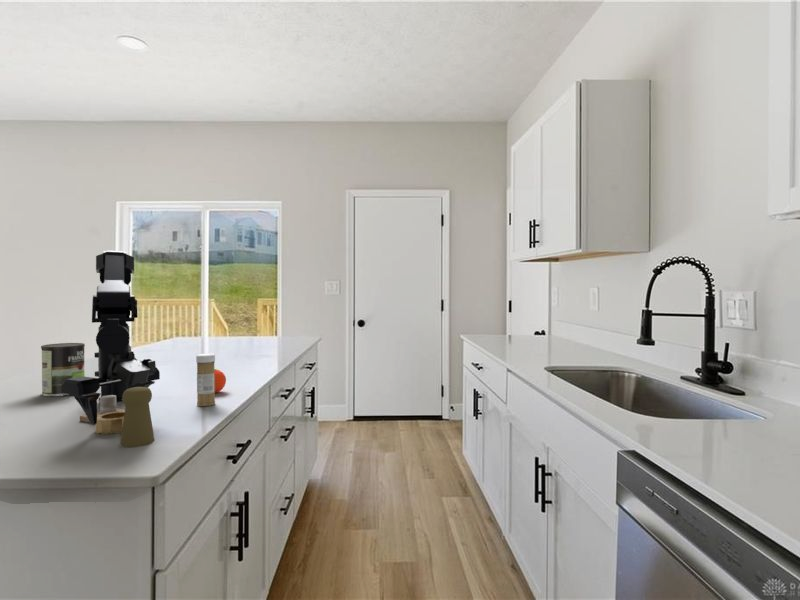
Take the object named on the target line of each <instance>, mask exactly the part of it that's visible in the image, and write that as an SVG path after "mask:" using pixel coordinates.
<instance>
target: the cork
mask: <svg viewBox="0 0 800 600" xmlns="http://www.w3.org/2000/svg"><path fill="white" fill-rule="evenodd" d="M152 398H153V394H152V390H151V389H150V387H148V388H147V387H133V388H129V389H127V390H125V391H124V393H123V395H122V400H121V401H122V403H123V404H124V406H125V408H124V409H125V413H124V420H123V427H122V432H121V435H120V436H121V437H120V443H119V445H121V446H120V447H122V446H123V448H138V447H143V446H146V445H150V444H152V443H153V442H154V441H155V434H154V428H153V423H152V417H151V416H152V415H151V410H150V404H149V403H150V402H151V400H152Z"/></svg>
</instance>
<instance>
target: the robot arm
mask: <svg viewBox="0 0 800 600" xmlns="http://www.w3.org/2000/svg"><path fill="white" fill-rule="evenodd" d="M95 271H96V274H99V282H100V284H99V285H97V287H96V294H93V295H92V309H91V323H92V324H93V323H100V325H99V326H98V331H97V334H96V336H95V341H96V345H97V347H98V351H97V352H94V358H95V359H96V358H98V360H97V361H98V362H97V363H98V364H97V365H98V366H97V367H98V370H97V371H94V377H90V376H85V377H83V376H82V377H76V378H70V379H66V380H65V381H64V382H63V384H62V393H65V394H69V395H68V397H73V398H74V399H75V401H76V402H77V403H78V404H79V406H80V407H81V408H82V410H83V412H84V415H85V414H86V416H87V417H88V419H89V421H90V423H89V424H91V425H93V426H94V425H95V424H96V423H97V412H98V400H99V401H100V397H102V396H106V395H116V402H121V401H122V395H123V393H124V391H125V390H127V389H129V388H133V387H147V388H150V386H151V385H154V384H155V383H156V381H157V380H161V377H160V376H161V375H160V374H161V373H160V370H159V369H158V367H157V365H156V360H155V359H154V358H152V357H150V358H144V359H143V360H138V359H137V358H136V355H135V352H134V351H132V346H131V345H130V326H129V323H132V322H135V319H138V299H136V296H135V294H131V286H130V283H131V282H132V274H135V256H132V255H129V254H127V252H126V251H123V250H105V251H103V252H102V253H101V254H98V255H95ZM130 316H131V317H130ZM128 322H129V323H128ZM99 389H100V392H98V391H99Z"/></svg>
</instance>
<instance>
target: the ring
mask: <svg viewBox="0 0 800 600" xmlns="http://www.w3.org/2000/svg"><path fill="white" fill-rule="evenodd" d="M124 413H125V411H117V412H109V413H105V414H101V415H98V416H97V423H96V424H95V428H94V430H95V434H98V433H102V434H101V435H113V434H112V433H115V434H120V433H119V432H121V433H122V427H123V420H124ZM109 433H110V434H109Z"/></svg>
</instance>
